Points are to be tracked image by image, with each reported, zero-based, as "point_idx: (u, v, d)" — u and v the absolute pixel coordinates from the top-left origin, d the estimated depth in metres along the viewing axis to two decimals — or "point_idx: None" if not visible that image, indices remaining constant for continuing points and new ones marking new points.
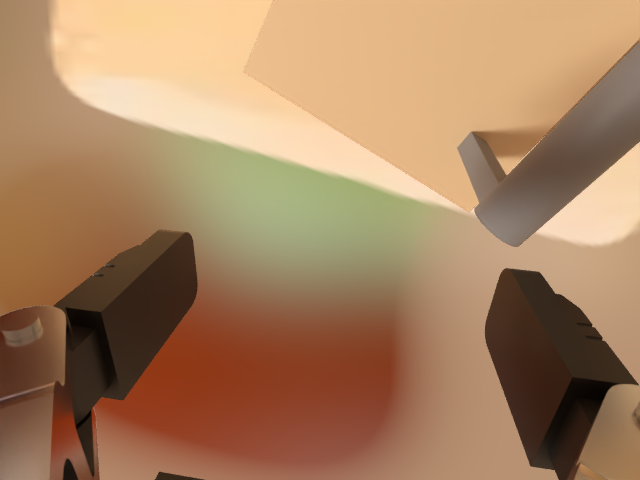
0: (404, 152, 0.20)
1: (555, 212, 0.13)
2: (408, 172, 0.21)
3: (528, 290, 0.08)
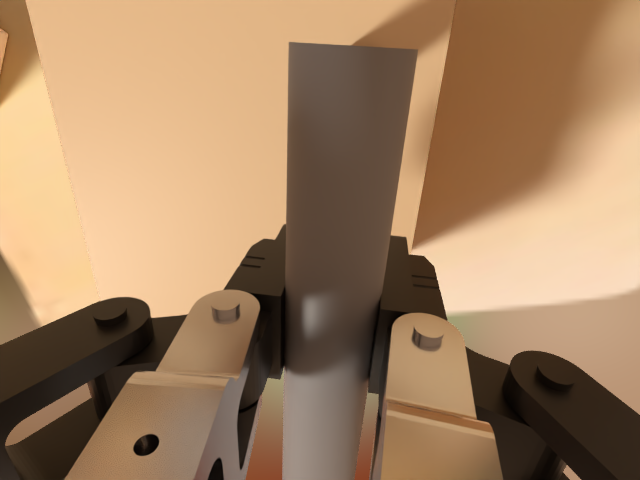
0: None
1: (341, 473, 0.10)
2: None
3: None
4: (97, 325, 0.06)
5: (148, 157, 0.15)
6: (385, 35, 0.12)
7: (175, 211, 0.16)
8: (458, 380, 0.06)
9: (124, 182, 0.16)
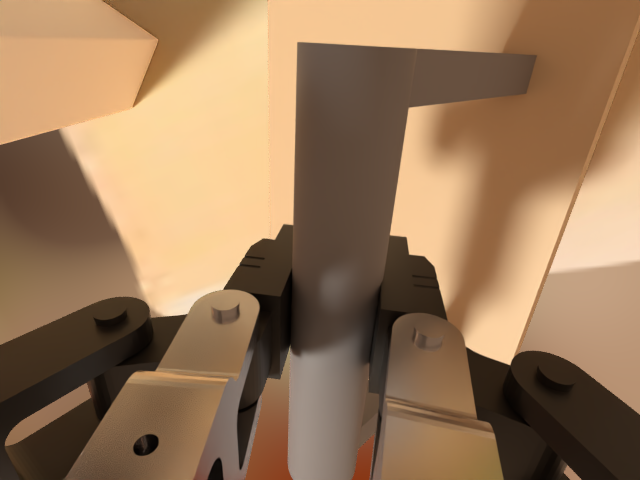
0: None
1: (320, 455, 0.10)
2: None
3: None
4: (96, 325, 0.06)
5: None
6: (542, 41, 0.10)
7: None
8: (459, 380, 0.06)
9: None
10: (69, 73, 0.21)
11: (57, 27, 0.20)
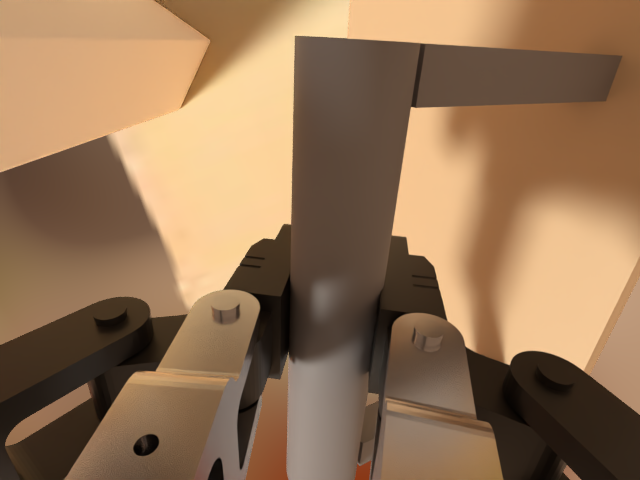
0: None
1: (309, 459, 0.10)
2: None
3: None
4: (97, 325, 0.06)
5: None
6: (630, 39, 0.09)
7: None
8: (458, 380, 0.06)
9: None
10: (138, 74, 0.22)
11: (131, 29, 0.20)
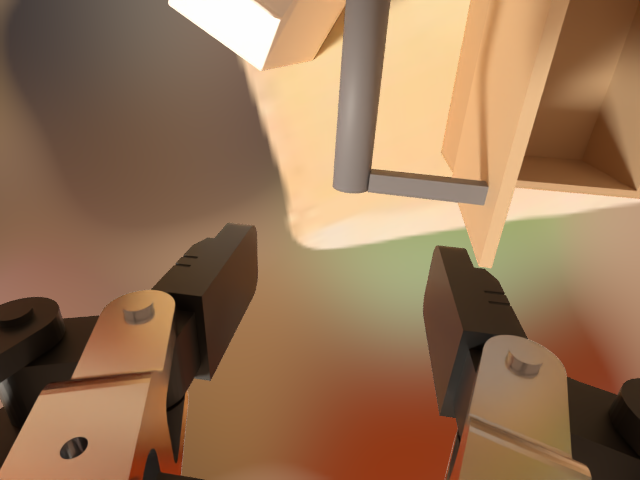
0: (468, 212, 0.23)
1: (337, 158, 0.20)
2: (467, 229, 0.23)
3: (449, 263, 0.09)
4: (1, 327, 0.06)
5: (486, 57, 0.24)
6: None
7: (480, 95, 0.25)
8: (554, 414, 0.05)
9: (479, 75, 0.26)
10: (322, 17, 0.29)
11: None
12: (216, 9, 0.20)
